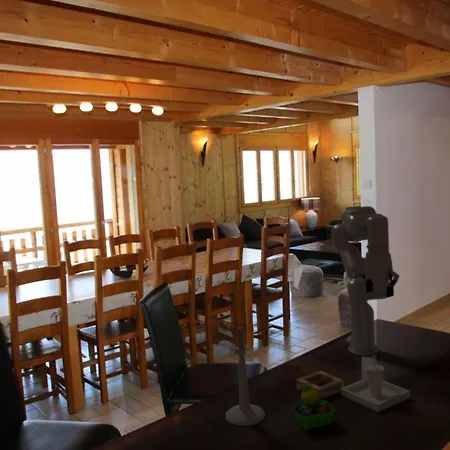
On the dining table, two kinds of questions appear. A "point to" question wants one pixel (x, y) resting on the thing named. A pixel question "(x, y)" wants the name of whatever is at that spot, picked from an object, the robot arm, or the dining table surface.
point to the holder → (318, 377)
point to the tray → (388, 397)
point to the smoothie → (375, 378)
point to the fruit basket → (313, 410)
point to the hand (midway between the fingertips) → (379, 294)
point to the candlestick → (244, 393)
